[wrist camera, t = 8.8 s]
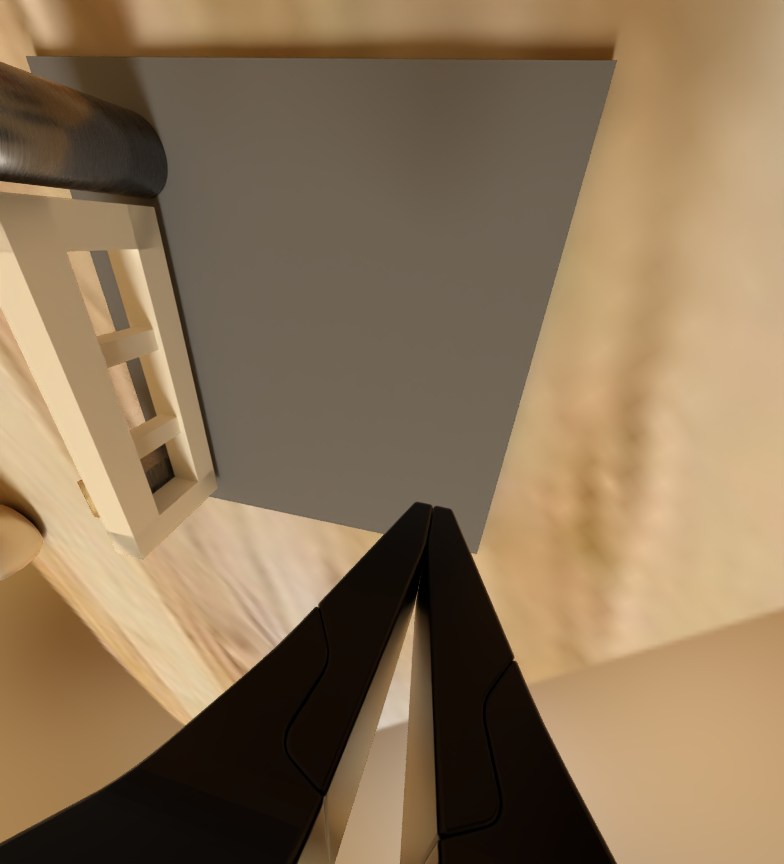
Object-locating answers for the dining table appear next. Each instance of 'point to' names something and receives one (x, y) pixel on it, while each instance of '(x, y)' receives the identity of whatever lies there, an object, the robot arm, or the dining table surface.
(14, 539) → the plastic bottle
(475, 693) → the robot arm
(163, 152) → the hinge post
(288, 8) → the dining table surface
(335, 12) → the dining table surface
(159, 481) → the post
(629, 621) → the dining table surface
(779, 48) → the dining table surface
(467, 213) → the mat
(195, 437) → the gate
